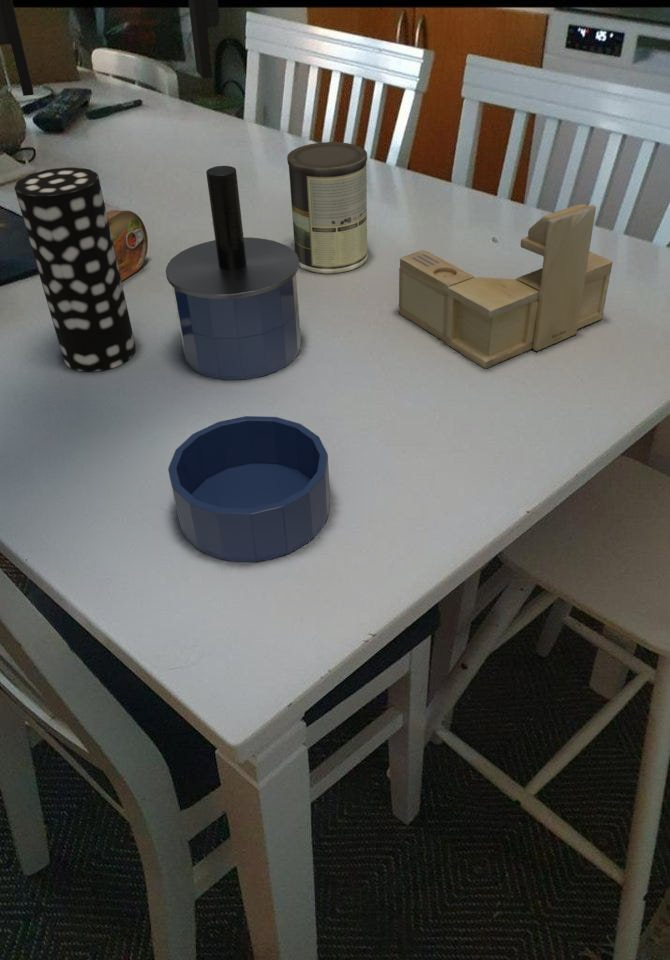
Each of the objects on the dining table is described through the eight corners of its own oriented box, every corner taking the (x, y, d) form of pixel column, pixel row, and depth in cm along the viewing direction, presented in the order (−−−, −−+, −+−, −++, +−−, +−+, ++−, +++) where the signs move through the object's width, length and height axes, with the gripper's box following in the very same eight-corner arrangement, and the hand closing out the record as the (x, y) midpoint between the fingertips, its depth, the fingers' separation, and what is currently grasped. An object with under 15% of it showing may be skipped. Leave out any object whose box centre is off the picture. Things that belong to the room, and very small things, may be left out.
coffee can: (280, 265, 112) (271, 160, 103) (319, 237, 118) (314, 137, 109) (344, 280, 107) (341, 172, 98) (381, 251, 114) (381, 147, 105)
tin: (83, 307, 104) (66, 244, 98) (64, 303, 105) (47, 240, 100) (154, 261, 114) (143, 202, 109) (136, 257, 115) (124, 198, 110)
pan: (192, 578, 66) (182, 529, 63) (169, 479, 76) (159, 433, 73) (348, 540, 69) (347, 491, 65) (306, 450, 79) (302, 404, 75)
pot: (195, 389, 88) (181, 306, 82) (176, 332, 98) (162, 254, 92) (313, 366, 91) (308, 284, 84) (283, 313, 101) (277, 236, 94)
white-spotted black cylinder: (114, 328, 99) (75, 161, 87) (149, 353, 94) (112, 180, 81) (51, 352, 95) (1, 181, 83) (83, 380, 90) (35, 202, 77)
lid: (178, 314, 81) (159, 205, 74) (158, 258, 92) (140, 158, 85) (315, 290, 84) (309, 184, 77) (281, 238, 95) (273, 140, 88)
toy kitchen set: (509, 273, 107) (522, 156, 97) (607, 322, 96) (632, 195, 86) (397, 314, 100) (398, 191, 90) (488, 372, 89) (502, 239, 79)
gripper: (-179, -302, 44) (-54, 111, 57) (265, -298, 50) (285, 77, 63) (-160, -287, 50) (-49, 87, 63) (237, -285, 55) (261, 57, 69)
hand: (118, 83), depth 63 cm, fingers open, 13 cm apart
